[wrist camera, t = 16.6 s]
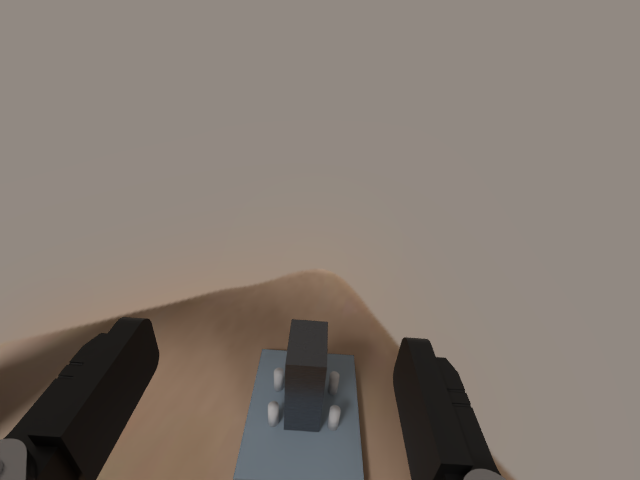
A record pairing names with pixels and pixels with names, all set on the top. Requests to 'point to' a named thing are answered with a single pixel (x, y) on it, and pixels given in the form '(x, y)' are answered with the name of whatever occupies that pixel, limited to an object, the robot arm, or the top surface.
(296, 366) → the block
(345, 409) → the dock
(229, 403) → the top surface
